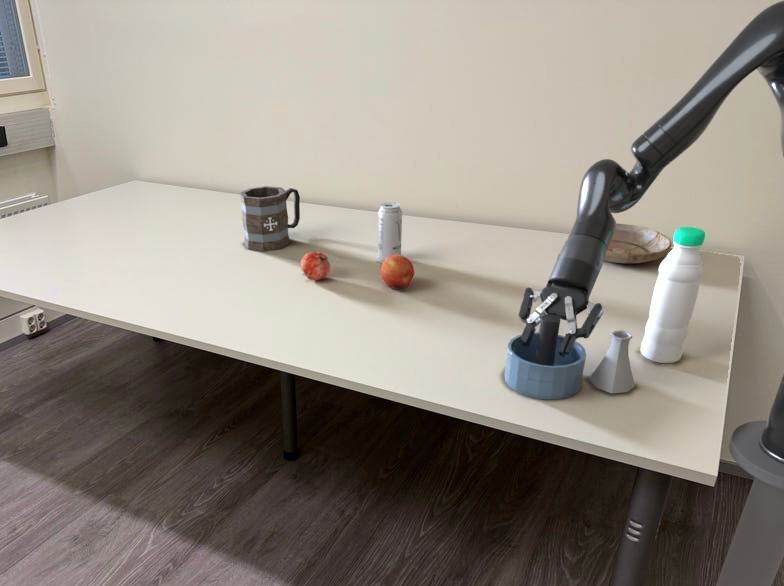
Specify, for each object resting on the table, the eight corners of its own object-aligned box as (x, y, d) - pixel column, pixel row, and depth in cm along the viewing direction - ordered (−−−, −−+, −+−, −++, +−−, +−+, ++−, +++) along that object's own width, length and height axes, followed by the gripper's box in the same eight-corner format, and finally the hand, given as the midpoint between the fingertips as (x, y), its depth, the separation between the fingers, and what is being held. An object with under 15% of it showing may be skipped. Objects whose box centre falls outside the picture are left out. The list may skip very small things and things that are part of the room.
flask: (580, 379, 122) (589, 330, 117) (611, 370, 124) (621, 321, 119) (611, 398, 116) (622, 347, 111) (642, 388, 118) (654, 338, 113)
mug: (262, 254, 187) (258, 201, 180) (234, 243, 196) (229, 193, 189) (315, 237, 198) (312, 187, 191) (286, 227, 207) (283, 179, 200)
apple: (406, 278, 167) (407, 248, 163) (419, 291, 160) (420, 260, 156) (376, 283, 165) (376, 252, 161) (387, 296, 158) (388, 264, 154)
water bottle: (670, 368, 123) (703, 239, 111) (633, 356, 128) (660, 230, 116) (687, 355, 127) (720, 229, 115) (649, 343, 132) (678, 220, 120)
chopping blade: (575, 377, 121) (586, 318, 115) (549, 394, 117) (559, 333, 111) (535, 361, 127) (543, 303, 121) (508, 377, 122) (515, 318, 116)
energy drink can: (398, 265, 175) (399, 209, 168) (376, 263, 177) (376, 208, 170) (402, 257, 180) (404, 202, 173) (380, 255, 182) (381, 201, 175)
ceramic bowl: (582, 272, 165) (586, 253, 163) (562, 240, 186) (564, 223, 183) (682, 271, 162) (686, 252, 160) (649, 239, 183) (653, 222, 180)
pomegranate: (297, 288, 171) (314, 274, 162) (290, 261, 172) (306, 246, 163) (322, 284, 174) (340, 271, 165) (315, 258, 175) (332, 243, 166)
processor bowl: (594, 380, 121) (600, 348, 118) (553, 408, 114) (559, 375, 111) (531, 355, 130) (535, 325, 127) (489, 379, 123) (492, 349, 120)
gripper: (621, 283, 118) (586, 368, 116) (543, 267, 127) (509, 346, 125) (617, 264, 112) (580, 354, 110) (534, 249, 121) (499, 332, 119)
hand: (542, 349), depth 117 cm, fingers open, 6 cm apart
